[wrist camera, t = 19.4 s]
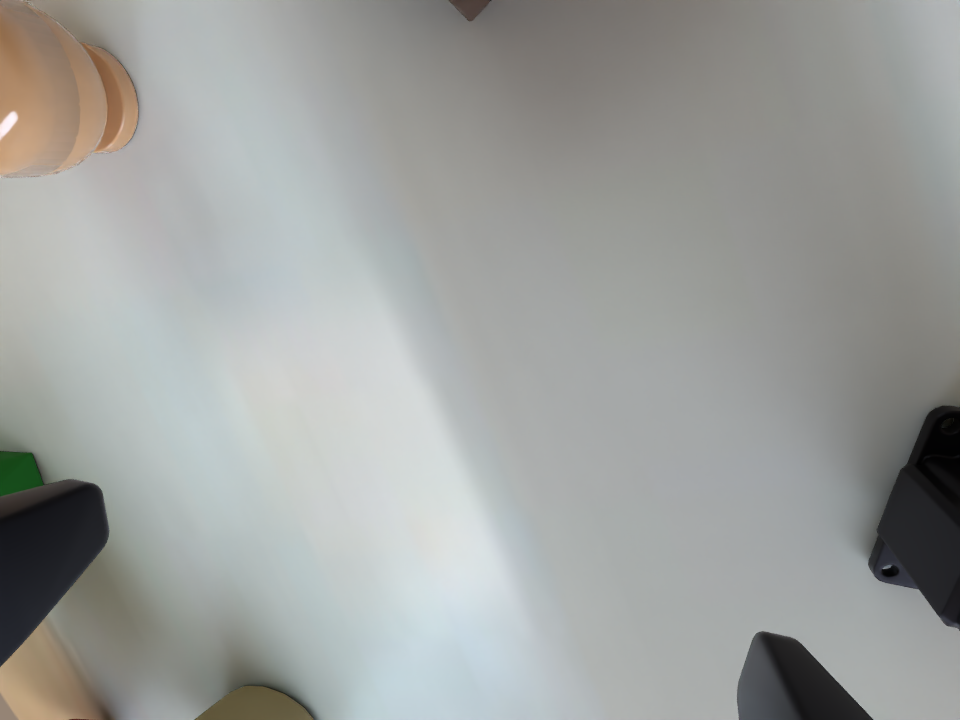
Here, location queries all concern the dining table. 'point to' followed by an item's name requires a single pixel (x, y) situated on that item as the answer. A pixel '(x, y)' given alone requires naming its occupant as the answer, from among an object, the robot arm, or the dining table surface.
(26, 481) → the milk carton
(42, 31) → the egg
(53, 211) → the dining table surface
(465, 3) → the dark brown wooden tray
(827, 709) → the robot arm
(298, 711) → the squeeze bottle
